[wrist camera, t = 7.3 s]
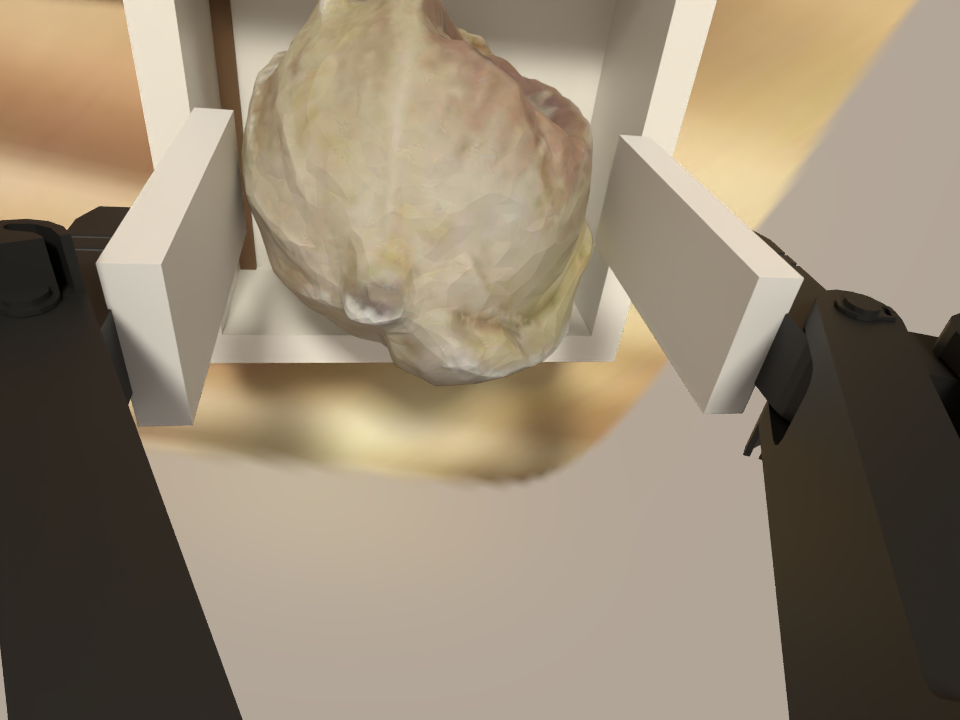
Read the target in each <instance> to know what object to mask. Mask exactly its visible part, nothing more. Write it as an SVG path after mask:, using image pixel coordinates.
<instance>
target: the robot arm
mask: <svg viewBox="0 0 960 720" xmlns="http://www.w3.org/2000/svg"><path fill="white" fill-rule="evenodd" d="M246 233H247V231H246V222H245V212H244V203H243V193H242V184H241V175H240V165H239V156H238V147H237V137H236V128H235V118H234V110H225V109H209V108H194V109H193V110H192V112H191V113H190V115H189V117H188V118H187V120H186V121H185V123H184V125H183V126H182V128H181V129H180V131H179V132H178V134H177V136H176V137H175V139H174V140H173V142H172V143H171V145H170V147H169V148H168V150H167V151H166V153H165V154H164V156H163V158H162V159H161V161H160V162H159V164H158V165H157V167H156V169H155V170H154V172H153V173H152V175H151V177H150V178H149V180H148V181H147V183H146V184H145V186H144V188H143V189H142V191H141V192H140V194H139V195H138V197H137V199H136V200H135V202H134V203H133V205H132V206H131V207H103V206H99V207H97V208H95V209H94V210H92V211H90V212H88V213H86V214H84V215H82V216H81V217H79V218H77V219H76V220H75V221H74V222H73V223H72V225H71V226H70V227H69V229H68V230H66V229H65V228H64V227H63V226H61V225H58V224H55V223H52V222H49V221H42V220H32V219H17V220H2V221H0V649H1V658H2V667H3V676H4V684H5V685H4V686H5V694H6V703H7V713H8V720H242V717H241V714H240V711H239V709H238V706H237V703H236V700H235V698H234V695H233V692H232V689H231V687H230V684H229V681H228V678H227V676H226V673H225V670H224V668H223V665H222V662H221V659H220V656H219V654H218V651H217V648H216V646H215V643H214V640H213V637H212V634H211V632H210V629H209V627H208V623H207V621H206V618H205V615H204V613H203V610H202V607H201V605H200V602H199V599H198V596H197V594H196V591H195V588H194V585H193V582H192V580H191V577H190V574H189V571H188V569H187V566H186V563H185V560H184V558H183V555H182V552H181V549H180V547H179V544H178V541H177V538H176V536H175V533H174V530H173V528H172V525H171V522H170V519H169V516H168V514H167V511H166V508H165V505H164V503H163V500H162V497H161V494H160V492H159V489H158V486H157V483H156V481H155V478H154V475H153V472H152V470H151V467H150V464H149V461H148V459H147V456H146V453H145V450H144V448H143V445H142V442H141V439H140V437H139V434H138V431H137V428H136V426H135V423H134V420H133V417H132V415H131V412H130V409H129V406H128V404H129V401H130V399H131V401H132V405H133V408H134V412H135V416H136V420H137V424H138V426H182V425H193V422H194V418H195V415H196V411H197V408H198V404H199V400H200V397H201V393H202V390H203V386H204V383H205V379H206V375H207V372H208V368H209V365H210V361H211V358H212V354H213V350H214V347H215V343H216V340H217V336H218V333H219V329H220V325H221V322H222V318H223V315H224V311H225V308H226V304H227V300H228V297H229V293H230V290H231V286H232V283H233V279H234V275H235V272H236V268H237V265H238V261H239V258H240V254H241V250H242V247H243V243H244V240H245V236H246ZM594 243H595V245H596V247H597V248H598V250H599V251H600V253H601V254H602V256H603V257H604V259H605V261H606V262H607V264H608V265H609V267H610V268H611V270H612V272H613V273H614V275H615V276H616V278H617V279H618V281H619V283H620V284H621V286H622V287H623V289H624V290H625V292H626V293H627V295H628V297H629V298H630V300H631V301H632V303H633V304H634V306H635V308H636V309H637V311H638V312H639V314H640V315H641V317H642V319H643V320H644V322H645V323H646V325H647V326H648V328H649V330H650V331H651V333H652V334H653V336H654V337H655V339H656V340H657V342H658V344H659V345H660V347H661V348H662V350H663V351H664V353H665V355H666V356H667V358H668V359H669V361H670V362H671V364H672V366H673V367H674V369H675V370H676V372H677V373H678V375H679V377H680V378H681V380H682V381H683V383H684V384H685V386H686V387H687V389H688V391H689V392H690V394H691V395H692V397H693V398H694V400H695V402H696V403H697V404H698V406H699V408H700V409H701V411H702V412H703V414H733V413H734V414H735V413H743V412H744V410H745V407H746V405H747V403H748V401H749V399H750V397H751V394H752V392H753V390H754V388H755V385H756V386H757V388H758V389H759V390H760V392H761V393H762V394H763V395H764V397H765V398H766V399H767V402H766V404H765V406H764V408H763V411H762V413H761V415H760V417H759V419H758V421H757V423H756V425H755V428H754V430H753V432H752V434H751V436H750V438H749V440H748V442H747V444H746V446H745V450H744V453H743V455H745V456H750V455H751V453H752V450H753V448H755V447H757V446H759V445H761V455H760V456H759V459H761V460H762V462H763V472H764V481H765V491H766V500H767V510H768V520H769V528H770V538H771V547H772V557H773V567H774V576H775V586H776V596H777V605H778V615H779V623H780V624H779V625H780V633H781V643H782V653H783V663H784V672H785V682H786V691H787V701H788V710H789V720H960V313H959V314H956V315H954V316H952V317H951V318H950V320H949V321H948V323H947V325H946V326H945V328H944V329H943V331H942V333H941V334H940V336H939V337H934V336H929V335H924V334H918V333H913V332H908V331H907V329H906V326H905V324H904V323H903V321H902V319H901V318H900V317H899V315H898V314H897V313H896V312H895V311H894V310H893V309H892V308H890V307H889V306H886V305H885V304H883V303H881V302H879V301H876V300H874V299H873V298H871V297H868V296H865V295H862V294H858V293H854V292H849V291H842V290H825V289H824V288H823V287H822V286H821V285H820V284H819V283H818V282H816V281H815V280H814V279H813V278H812V277H811V276H810V275H809V274H808V273H807V272H805V271H804V270H803V269H802V268H801V267H800V266H796V262H794V261H793V260H792V259H791V258H790V257H789V256H788V255H785V253H784V252H783V251H782V250H781V249H780V248H779V247H778V246H777V245H776V244H774V243H773V242H772V241H771V240H770V239H768V238H766V237H764V236H762V235H760V234H759V233H757V232H755V231H753V230H751V229H750V228H749V227H748V226H747V225H746V224H745V223H743V222H742V221H741V220H740V219H739V218H738V217H737V216H736V215H735V214H734V213H733V212H731V211H730V210H729V209H728V208H727V207H726V206H725V205H724V204H723V203H722V202H721V201H720V200H718V199H717V198H716V197H715V196H714V195H713V194H712V193H711V192H710V191H709V190H708V189H706V188H705V187H704V186H703V185H702V184H701V183H700V182H699V181H698V180H697V179H696V178H695V177H693V176H692V175H691V174H690V173H689V172H688V171H687V170H686V169H685V168H684V167H683V166H681V165H680V164H679V163H678V162H677V161H676V160H675V159H674V158H673V157H672V156H671V155H669V154H668V153H667V152H666V151H665V150H664V149H663V148H662V147H661V146H660V145H659V144H658V143H656V142H655V141H654V140H653V139H652V138H651V137H647V136H631V135H619V138H618V142H617V147H616V151H615V155H614V160H613V164H612V168H611V173H610V177H609V181H608V185H607V190H606V194H605V198H604V203H603V207H602V211H601V216H600V220H599V224H598V229H597V233H596V237H595V241H594Z"/></svg>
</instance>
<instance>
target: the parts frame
mask: <svg viewBox="0 0 960 720" xmlns="http://www.w3.org/2000/svg"><path fill="white" fill-rule="evenodd" d="M209 7H210V15H211V24H212V32H213V41H214V49H215V58H216V66H217V75H218V84H219V92H220V101H221V109H225V110H234V118H235V128H236V137H237V147H238V156H239V165H240V175H241V184H242V193H243V203H244V212H245V222H246V231H247V233H246V236H245V240H244V243H243V247H242V250H241V254H240V258H239V263H240V270H256V268H257V263H256V253H255V243H254V233H253V223H252V213H251V209H250V207H249V205H248V203H247V198H246V193H245V187H244V180H243V173H242V153H241V152H242V144H243V136H244V133H243V124H242V114H241V104H240V94H239V84H238V74H237V64H236V54H235V44H234V34H233V24H232V14H231V4H230V0H209Z"/></svg>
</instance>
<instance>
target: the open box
mask: <svg viewBox="0 0 960 720" xmlns="http://www.w3.org/2000/svg"><path fill="white" fill-rule="evenodd" d="M317 1H318V0H230V4H231V14H232V24H233V34H234V44H235V54H236V64H237V74H238V84H239V94H240V104H241V114H242V124H243V133H244V131H245V126H246V121H247V115H248V108H249V102H250V99H251V96H252V93H253V88H254V83H255V80H256V77H257V75H258V73H259V71H261V70H262V69H263V68H264V67H265V66H266V65H267V64H268V63H269V62H270V60H271V59H272V57H273V56H274V54H276V53H278V52H282V51H288V49H289V47H290V44H291V42H292V41H293V39H294V38H295V36H296V35H297V34H298V32H299V31H300V30H301V29H302V27H303V26H304V25H305V24H306V23H307V21H308V19H309V17H310V16H311V14H312V12H313V10H314V8H315V6H316V4H317ZM350 1H353V0H350ZM359 1H367V0H359ZM441 2H442V4H443V6H444V7H445V9H446V10H447V12H448V15H449V17H450V19H451V20H452V22H453V23H454V24H455V26H456V27H457V28H460V29H463V30H465V31H466V32H468V33H471V34H475V35H479V36H481V37H482V38H484V39H485V41H486V43H487V45H488V47H489V49H490V51H491V53H492V54H494V55H495V56H498V57H501V58H503V59H505V60H506V61H508V62H509V63H510V64H511V65H512V66H513V67H515V69H516V70H517V71H518V72H519V74H520V75H521V76H525V77H527V78H529V79H536V80H538V81H540V82H542V83H544V84H546V85H549V86H551V87H554V88H556V89H557V90H558V91H559V92H560V93H561V95H562V96H564V97H566V98H568V99H570V100H571V101H572V102H573V103H574V104H575V105H576V106H577V107H578V108H579V109H580V110H581V113H582V115H583V117H585V118H586V119H587V120H588V121H589V123H590V125H591V130H592V137H593V154H592V175H591V185H590V193H589V198H588V204H587V209H586V214H585V218H586V220H587V223H588V225H589V227H590V230H591V232H592V235H593V251H592V255H591V259H590V261H589V263H588V265H587V267H586V269H585V271H584V273H583V275H582V277H581V279H580V282H579V285H578V288H577V291H576V293H575V296H574V301H573V310H572V315H571V319H570V324H569V331H568V333H567V334H566V335H565V336H564V338H563V340H562V342H561V343H560V345H559V346H558V348H557V349H556V350H555V351H554V352H553V353H552V355H550V356H549V357H548V358H547V359H546V360H545V361H543V362H614V360H615V357H616V353H617V350H618V346H619V343H620V339H621V336H622V332H623V329H624V325H625V322H626V318H627V315H628V311H629V308H630V304H631V300H630V298H629V297H628V295H627V293H626V292H625V290H624V289H623V287H622V286H621V284H620V283H619V281H618V279H617V278H616V276H615V275H614V273H613V272H612V270H611V268H610V267H609V265H608V264H607V262H606V261H605V259H604V257H603V256H602V254H601V253H600V251H599V250H598V248H597V247H596V245H595V243H594V241H595V237H596V233H597V229H598V224H599V220H600V216H601V211H602V207H603V203H604V198H605V194H606V190H607V185H608V181H609V177H610V173H611V168H612V164H613V160H614V155H615V151H616V147H617V142H618V138H619V135H631V136H647V137H651V138H652V139H653V140H654V141H655V142H656V143H658V144H659V145H660V146H661V147H662V148H663V149H664V150H665V151H666V152H667V153H668V154H669V155H671V156H673V153H674V149H675V146H676V142H677V139H678V135H679V132H680V128H681V125H682V121H683V118H684V114H685V111H686V107H687V104H688V100H689V97H690V93H691V90H692V86H693V83H694V79H695V76H696V72H697V69H698V65H699V62H700V58H701V55H702V51H703V48H704V44H705V41H706V37H707V33H708V30H709V26H710V23H711V19H712V16H713V12H714V9H715V5H716V2H717V0H441ZM123 4H124V9H125V15H126V20H127V26H128V31H129V37H130V42H131V47H132V53H133V58H134V64H135V69H136V74H137V80H138V85H139V91H140V96H141V101H142V107H143V112H144V118H145V123H146V128H147V134H148V139H149V145H150V150H151V156H152V161H153V166H154V170H155V169H156V167H157V165H158V164H159V162H160V161H161V159H162V158H163V156H164V154H165V153H166V151H167V150H168V148H169V147H170V145H171V143H172V142H173V140H174V139H175V137H176V136H177V134H178V132H179V131H180V129H181V128H182V126H183V125H184V123H185V121H186V120H187V118H188V117H189V115H190V113H191V112H192V110H193V109H194V108H209V109H221V101H220V92H219V84H218V75H217V66H216V58H215V49H214V41H213V32H212V24H211V15H210V7H209V0H123ZM251 213H252V212H251ZM252 223H253V233H254V243H255V253H256V263H257V268H256V270H240V263H239V261H238V265H237V268H236V272H235V275H234V279H233V283H232V286H231V290H230V293H229V297H228V300H227V304H226V308H225V311H224V315H223V318H222V322H221V325H220V329H219V333H218V336H217V340H216V343H215V347H214V350H213V354H212V358H211V361H210V363H394V362H393V361H392V359H391V356H390V353H389V350H388V348H387V347H386V346H384V345H383V344H381V343H379V342H374V341H370V340H365V339H361V338H357V337H355V336H352V335H350V334H349V333H347V332H346V331H345V330H343V329H342V328H340V327H339V326H337V325H336V324H335V323H333V322H332V321H330V320H329V319H328V318H326V317H325V316H323V315H321V314H319V313H317V312H315V311H313V310H311V309H309V308H308V307H307V306H306V305H305V304H304V303H303V302H302V301H301V300H300V299H299V298H298V297H297V296H296V295H295V294H294V293H293V292H292V291H290V290H289V289H288V288H287V287H286V286H285V285H284V284H283V283H282V281H281V280H280V279H279V278H278V277H277V275H276V274H275V273H274V272H273V269H272V267H271V264H270V262H269V259H268V255H267V252H266V249H265V245H264V242H263V239H262V236H261V233H260V230H259V228H258V225H257V223H256V221H255V219H254V216H253V214H252Z"/></svg>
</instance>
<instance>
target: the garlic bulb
mask: <svg viewBox="0 0 960 720" xmlns="http://www.w3.org/2000/svg"><path fill="white" fill-rule="evenodd" d="M241 153H242V173H243V180H244V187H245V193H246V198H247V203H248V205H249V207H250V209H251V212H252V214H253V216H254V219H255V221H256V223H257V225H258V228H259V230H260V233H261V236H262V239H263V242H264V245H265V249H266V252H267V255H268V259H269V262H270V264H271V267H272V269H273V272H274V273H275V274H276V275H277V277H278V278H279V279H280V280H281V281H282V283H283V284H284V285H285V286H286V287H287V288H288V289H289V290H290V291H292V292H293V293H294V294H295V295H296V296H297V297H298V298H299V299H300V300H301V301H302V302H303V303H304V304H305V305H306V306H307V307H308V308H309V309H311V310H313V311H315V312H317V313H319V314H321V315H323V316H325V317H326V318H328V319H329V320H330V321H332V322H333V323H335V324H336V325H337V326H339V327H340V328H342V329H343V330H345V331H346V332H347V333H349V334H350V335H352V336H355V337H357V338H361V339H365V340H370V341H374V342H379V343H381V344H383V345H384V346H386V347H387V348H388V350H389V353H390V356H391V359H392V361H393V362H394V363H395V365H396V366H398V367H399V368H401V369H403V370H404V371H406V372H408V373H410V374H413V375H416V376H418V377H420V378H422V379H424V380H426V381H427V382H429V383H431V384H433V385H435V386H448V385H462V384H476V383H481V382H485V381H489V380H493V379H497V378H501V377H505V376H507V375H510V374H513V373H515V372H518V371H521V370H523V369H526V368H529V367H532V366H535V365H536V364H539V363H541V362H543V361H545V360H546V359H547V358H548V357H549V356H550V355H552V353H553V352H554V351H555V350H556V349H557V348H558V346H559V345H560V343H561V342H562V340H563V338H564V336H565V335H566V334H567V333H568V331H569V324H570V319H571V315H572V310H573V301H574V296H575V293H576V291H577V288H578V285H579V282H580V279H581V277H582V275H583V273H584V271H585V269H586V267H587V265H588V263H589V261H590V259H591V255H592V251H593V235H592V232H591V230H590V227H589V225H588V223H587V220H586V218H585V214H586V209H587V204H588V198H589V193H590V185H591V175H592V154H593V137H592V130H591V125H590V123H589V121H588V120H587V119H586V118H585V117H583V115H582V113H581V110H580V109H579V108H578V107H577V106H576V105H575V104H574V103H573V102H572V101H571V100H570V99H568V98H566V97H564V96H562V95H561V93H560V92H559V91H558V90H557V89H556V88H554V87H551V86H549V85H546V84H544V83H542V82H540V81H538V80H536V79H529V78H527V77H525V76H521V75H520V74H519V72H518V71H517V70H516V69H515V67H513V66H512V65H511V64H510V63H509V62H508V61H506V60H505V59H503V58H501V57H498V56H495V55H494V54H492V53H491V51H490V49H489V47H488V45H487V43H486V41H485V39H484V38H482V37H481V36H479V35H475V34H471V33H468V32H466V31H465V30H463V29H460V28H457V27H456V26H455V24H454V23H453V22H452V20H451V19H450V17H449V15H448V12H447V10H446V9H445V7H444V6H443V4H442V2H441V0H367V1H359V0H353V1H350V0H318V1H317V4H316V6H315V8H314V10H313V12H312V14H311V16H310V17H309V19H308V21H307V23H306V24H305V25H304V26H303V27H302V29H301V30H300V31H299V32H298V34H297V35H296V36H295V38H294V39H293V41H292V42H291V44H290V47H289V49H288V51H282V52H278V53H276V54H274V56H273V57H272V59H271V60H270V62H269V63H268V64H267V65H266V66H265V67H264V68H263V69H262V70H261V71H259V73H258V75H257V77H256V80H255V83H254V88H253V93H252V96H251V99H250V102H249V108H248V115H247V121H246V126H245V131H244V136H243V144H242V152H241Z"/></svg>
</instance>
